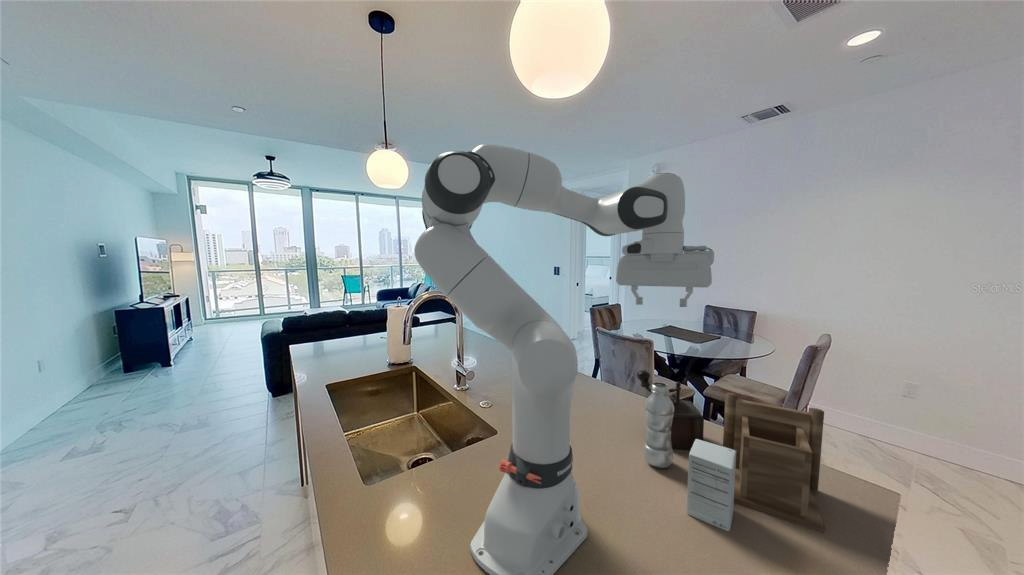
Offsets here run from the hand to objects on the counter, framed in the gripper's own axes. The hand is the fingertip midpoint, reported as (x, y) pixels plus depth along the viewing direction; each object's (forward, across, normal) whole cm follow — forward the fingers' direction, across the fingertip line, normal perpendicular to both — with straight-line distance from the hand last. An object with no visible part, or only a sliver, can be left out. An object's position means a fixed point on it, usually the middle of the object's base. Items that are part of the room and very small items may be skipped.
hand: (660, 305), depth 78 cm
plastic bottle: (+40, 0, 0) cm, 40 cm away
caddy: (+39, -22, +1) cm, 45 cm away
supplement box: (+40, -10, +12) cm, 43 cm away
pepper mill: (+40, -2, -14) cm, 42 cm away
